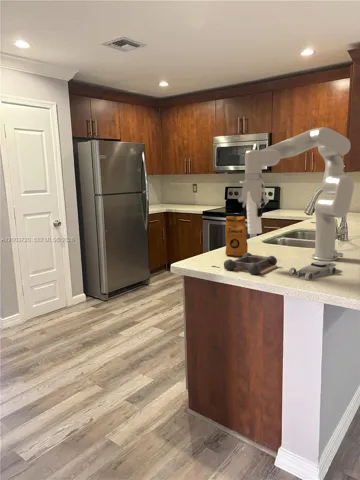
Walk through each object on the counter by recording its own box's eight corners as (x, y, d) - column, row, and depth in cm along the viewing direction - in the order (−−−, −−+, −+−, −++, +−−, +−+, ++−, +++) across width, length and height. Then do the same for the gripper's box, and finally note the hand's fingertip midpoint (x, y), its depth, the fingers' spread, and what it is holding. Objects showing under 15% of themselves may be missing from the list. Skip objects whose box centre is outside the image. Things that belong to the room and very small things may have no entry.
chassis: (278, 266, 169) (279, 256, 169) (259, 276, 155) (260, 265, 154) (242, 261, 182) (242, 251, 181) (222, 269, 168) (221, 259, 167)
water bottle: (261, 232, 169) (258, 179, 167) (262, 233, 163) (258, 179, 160) (243, 233, 171) (239, 181, 168) (243, 234, 165) (239, 181, 162)
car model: (286, 276, 155) (286, 265, 154) (321, 267, 168) (322, 257, 167) (307, 282, 146) (307, 270, 145) (343, 272, 158) (343, 261, 157)
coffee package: (245, 257, 190) (245, 217, 186) (223, 256, 195) (222, 216, 191) (249, 254, 198) (249, 215, 194) (228, 252, 204) (228, 214, 200)
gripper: (274, 177, 159) (273, 216, 163) (241, 177, 171) (241, 214, 174) (266, 177, 154) (265, 218, 157) (232, 178, 165) (232, 215, 168)
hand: (252, 215), depth 165 cm, fingers closed on water bottle, 6 cm apart
